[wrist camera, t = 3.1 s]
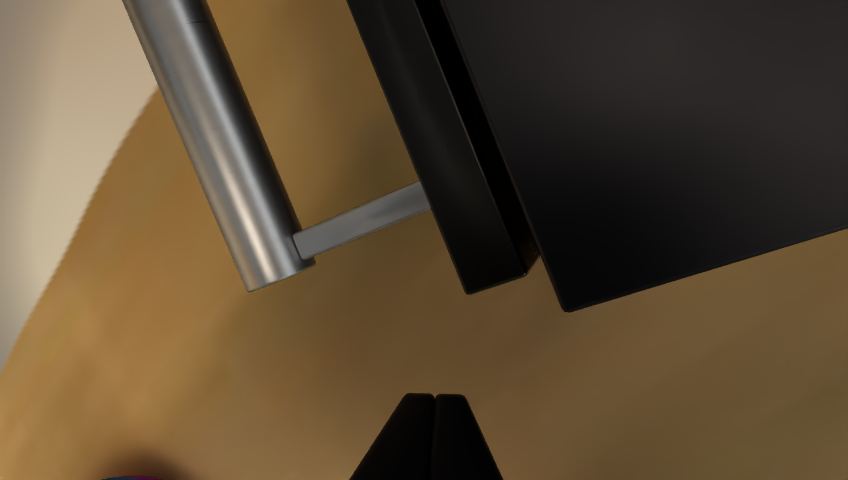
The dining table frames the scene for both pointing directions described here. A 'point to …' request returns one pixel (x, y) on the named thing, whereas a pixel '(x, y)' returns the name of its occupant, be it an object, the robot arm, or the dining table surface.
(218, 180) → the drawer with bar handle
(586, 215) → the cabinet
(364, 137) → the dining table surface
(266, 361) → the dining table surface
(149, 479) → the decorative egg
